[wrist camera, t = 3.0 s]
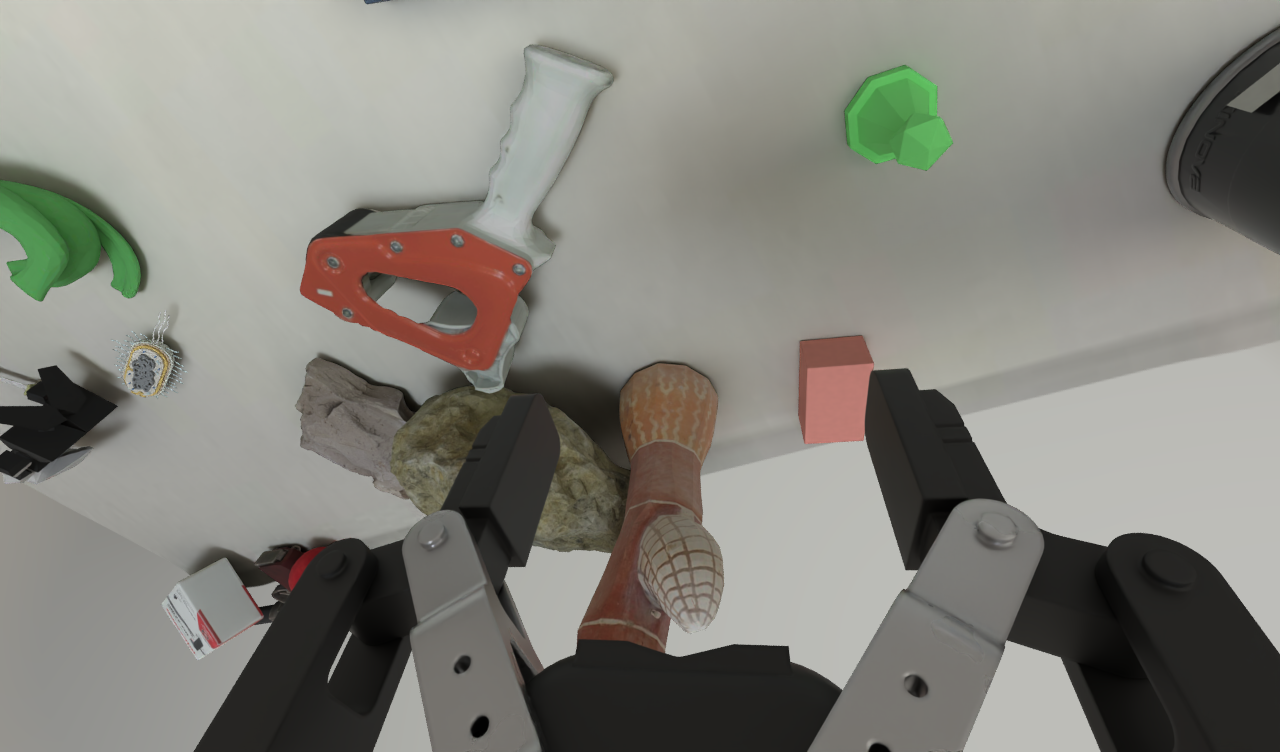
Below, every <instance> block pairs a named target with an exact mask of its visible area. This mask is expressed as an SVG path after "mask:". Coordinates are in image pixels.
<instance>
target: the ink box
mask: <svg viewBox="0 0 1280 752" xmlns="http://www.w3.org/2000/svg"><path fill="white" fill-rule="evenodd" d="M161 605H162V607H163V608H164V610H165V611H166V613H167V615H168V616H169V618H170V619H171V621H172V622H173V624H174V625H175V626H176V628H177V630H178V631H179V633H180V635H181V636H182V638H183V639H184V641H185V642H186V644H187V645H188V647H189V648H190V650H191V652H192V653H193V654H194V656H195V658H196V659H197V660H200V659H201V658H203V657H204V656H206V655H208V654H209V653H211V652H212V651H214V650H216V649H217V648H219V647H220V646H222V645H223V644H225V643H227V642H228V641H229V640H231V639H233V638H234V637H236V636H237V635H239V634H240V633H242V632H243V631H245V630H246V629H248V628H249V627H251V626H253V625H254V624H256V623H257V622H258V621H260V620H261V619H263V617H264V615H263V613H262V612H261V610H260V609H259V607H258V605H257V604H256V603H255V601H254V600H253V598H252V596H251V595H250V593H249V592H248V590H247V589H246V587H245V586H244V584H243V583H242V581H241V579H240V578H239V576H238V575H237V573H236V572H235V570H234V569H233V567H232V566H231V564H230V563H229V561H228V559H227V558H222V559H220V560H218V561H216V562H214V563H213V564H211V565H209V566H207V567H205V568H203V569H202V570H200V571H198V572H196V573H194V574H192V575H190V576H188V577H187V578H185V579H183V580H181V581H179V582H178V583H177V584H176V586H175V587H174V588H173V590H172V591H171V592H170V594H169V595H168V596H167V597H166V599H165V600H164V601H163V603H162V604H161Z"/></svg>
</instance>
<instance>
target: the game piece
mask: <svg viewBox="0 0 1280 752" xmlns="http://www.w3.org/2000/svg"><path fill="white" fill-rule="evenodd" d="M844 112H845V124H846V136H847V144H848V146H849V147H850V148H851V149H852V150H854V151H856V152H857V153H859V154H860V155H862V156H864V157H865V158H867V159H869V160H870V161H872V162H874V163H875V164H878V163H882V162H885V161H889V160H892V159H896V160H897V162H898V164H902V165H906V166H910V167H914V168H918V169H922V170H926V171H927V170H928V169H929V168H930V167H931V166H932V165H933V164H934V163H935V162H936V161H937V160H938V158H939V157H940V156H941V155H942V154H943V153H944V152H945V151H946V150H947V149H948V148H949V147H950V146H951V145H952V144H953V141H952V139H951V137H950V135H949V132H948V130H947V128H946V126H945V123H944V121H943V120H942V119H941V118H940V117H938V116H937V86H936V85H935V84H933V83H932V82H930V81H929V80H927V79H926V78H924V77H923V76H921V75H920V74H918V73H917V72H915V71H914V70H912V69H911V68H909V67H908V66H906V65H903V66H900V67H897V68H894V69H891V70H888V71H885V72H882V73H879V74H876V75H873V76H870V77H868V78H867V79H866V81H865V82H864V83H863V85H862V86H861V88H860V89H859V91H858V92H857V93H856V95H855V96H854V98H853V99H852V101H851V102H850V103H849V105H848V106H847V108H846V109H845V111H844Z"/></svg>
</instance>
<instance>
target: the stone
mask: <svg viewBox="0 0 1280 752" xmlns="http://www.w3.org/2000/svg"><path fill="white" fill-rule="evenodd" d="M306 372H307V373H306V376H305V385H304V387H303V389H302V394H301V396H300V397H299V399H298V401H297V404H296V405H295V407H296V409H297V410H298V411H300V412H301V413H302V414H303V415H302V417H301V419H300V420H301V429H302V430H303V435H302V436H301V443H300V446H301V447H302V448H304V449H306V450H312V451H314V452H316V453H317V454H319V455H321V456H322V457H324V458H326V459H328V460H330V461H332V462H333V463H335V464H338V465H340V466H342V467H343V468H345V469H348V470H349V471H352V472H356V473H358V474H360V475H364V476H372V477H373V479H374V481H373V484H374V487H375V488H377V489H379V490H380V491H383V492H388V493H391V494H393V495H395V496H398V497H400V498H402V499H410V498H409V497H408V495H407V493H406V491H405V489H404V488H403V487H402V486H400V484H399V482H398V480H397V478H396V476H395V475H393V474H392V473H391V472H390V470H391V467H390V461H391V459H392V453H391V450H392V445H393V439H394V436H395V434H396V432H397V431H398V430H399V429H400V428H401V427H402V426H403V425H404V424H405V423H406V422H407V421H408V420H409V419H411V418H412V417H413V415H414V414H415V413H416V412H412V411H410V410H409V409H408V407H407V405H406V403H405V401H404V397H403V393H402V392H401V391H399V390H397V389H394V388H391V387H386V386H374V385H370V384H368V382H367V381H365V380H363V379H362V378H359V377H357V376H356V375H354V374H353V373H351V372H350V371H349V370H347V369H345V368H343V367H342V366H339V365H337V364H334V363H332V362H328V361H325V360H323V359H320V358H315V359H313V360H312V361H311V362H309V363H308V364H307V366H306Z"/></svg>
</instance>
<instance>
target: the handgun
mask: <svg viewBox="0 0 1280 752" xmlns="http://www.w3.org/2000/svg"><path fill="white" fill-rule="evenodd" d="M295 548H298V550H297V549H295ZM303 554H304V552H301V548H300V547H299V546H293V547H292V548H289V547H282V548H278V549H274V550H272V551H266V552H264V553H262V555H261V556H260V557H259V559H258V560H257V561H256V562H255V565H256V566H259V569H260V570H262V571H263V572H264V573H266V574H267V575H268V576H270V577H271V578H273V579H274V580H275V581H277V582H278V583H280V585H278V586H277V587H276V588H275V590H274V591H273V593H272V597H273V598H275V599H276V600H278V602H276V603H275V604H274V605H269V606H263V607H259V609H260V610H261V612H262V613H263V615H264V617H263V619H261V620H260V621H258V622H257V623H256V624H254V625H258V624H264V623H271V622H273V621H274V619H275V618H276V616H277V614H278V613H279V611H280V609H281V608H282V606H283V604H284V603H285V601H286V600H287V598H288V596H289V595H290V593H291V589H290V587H289V582H288V580H289V574H290V571H291V569H292V567H293V565H294V564H295V562H296V561H297V560H298V559H299V558H300V557H301V556H302V555H303Z"/></svg>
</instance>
